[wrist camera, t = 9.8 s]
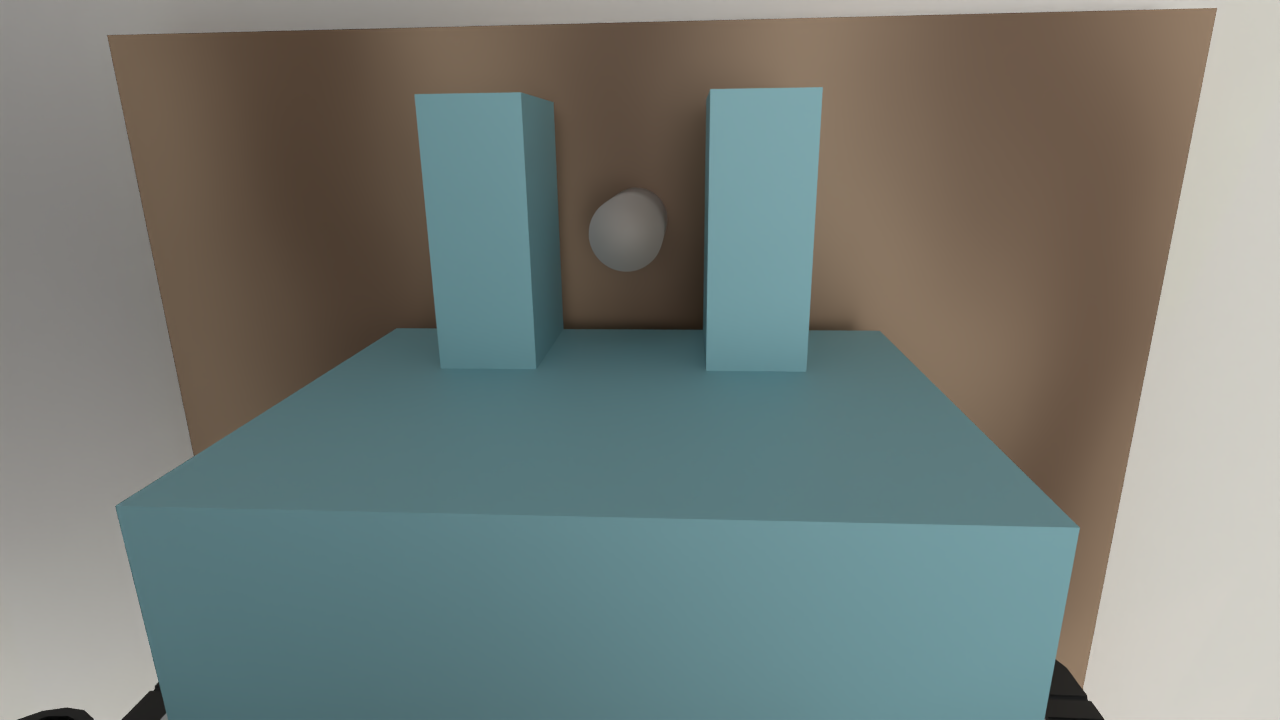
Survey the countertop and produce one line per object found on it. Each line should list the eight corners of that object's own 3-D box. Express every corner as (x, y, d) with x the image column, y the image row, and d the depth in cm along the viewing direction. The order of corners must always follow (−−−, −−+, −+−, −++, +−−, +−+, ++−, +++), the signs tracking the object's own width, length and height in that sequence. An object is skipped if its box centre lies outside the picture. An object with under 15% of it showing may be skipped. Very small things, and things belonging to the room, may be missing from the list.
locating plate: (302, 796, 21) (201, 966, 16) (163, 45, 15) (-48, 5, 11) (1017, 830, 19) (1111, 1025, 15) (1161, 22, 14) (1377, -34, 9)
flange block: (371, 104, 12) (4, 61, 6) (900, 96, 12) (1170, 37, 5) (455, 849, 17) (308, 1289, 11) (832, 869, 17) (926, 1349, 10)
